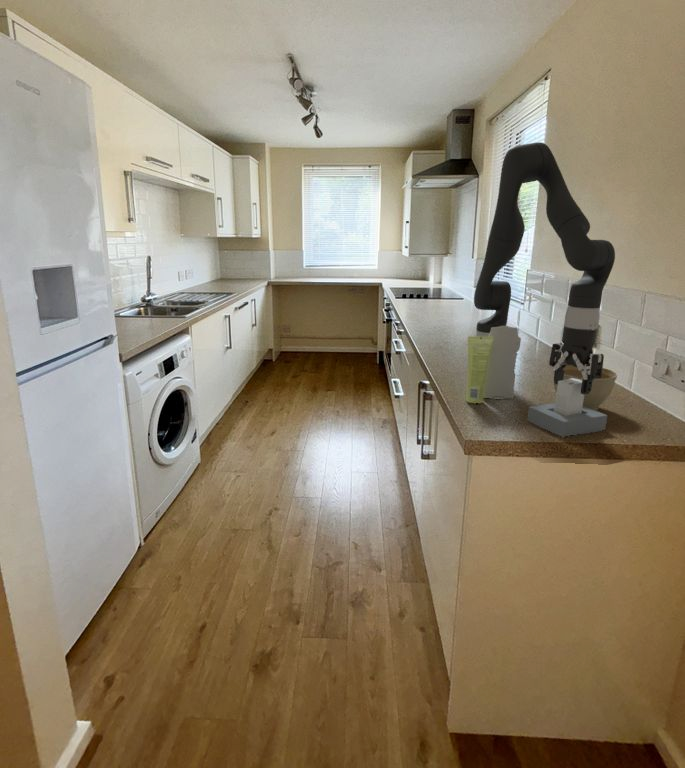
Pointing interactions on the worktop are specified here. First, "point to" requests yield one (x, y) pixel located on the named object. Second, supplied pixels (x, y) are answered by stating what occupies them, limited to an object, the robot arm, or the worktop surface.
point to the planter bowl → (599, 386)
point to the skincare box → (569, 397)
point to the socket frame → (566, 420)
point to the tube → (477, 367)
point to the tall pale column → (502, 363)
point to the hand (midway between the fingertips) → (571, 388)
